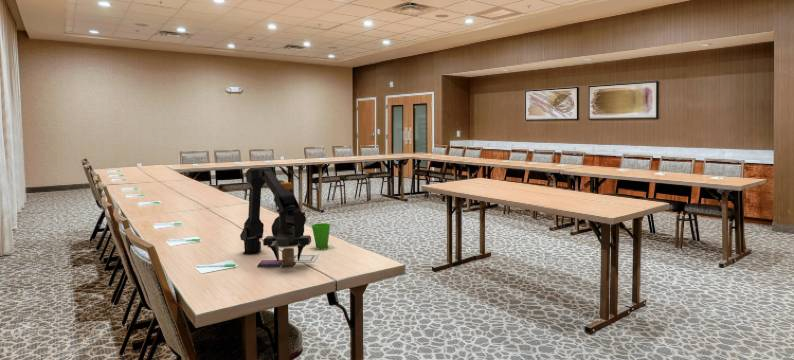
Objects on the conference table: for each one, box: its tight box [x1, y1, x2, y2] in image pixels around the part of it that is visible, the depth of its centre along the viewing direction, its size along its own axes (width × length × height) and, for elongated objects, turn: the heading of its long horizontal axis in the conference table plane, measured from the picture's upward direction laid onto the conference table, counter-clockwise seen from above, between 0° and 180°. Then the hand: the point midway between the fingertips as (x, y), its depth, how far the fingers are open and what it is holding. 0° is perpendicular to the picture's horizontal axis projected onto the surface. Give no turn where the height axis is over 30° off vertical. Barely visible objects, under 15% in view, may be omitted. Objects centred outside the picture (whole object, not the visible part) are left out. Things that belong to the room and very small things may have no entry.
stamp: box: [280, 247, 297, 269], centre depth 201 cm, size 5×5×7 cm
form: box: [294, 254, 320, 264], centre depth 211 cm, size 12×11×1 cm
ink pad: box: [257, 259, 282, 268], centre depth 203 cm, size 9×7×1 cm
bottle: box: [271, 181, 305, 247], centre depth 237 cm, size 16×16×30 cm
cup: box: [310, 222, 331, 250], centre depth 228 cm, size 9×9×11 cm
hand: (288, 260), depth 201 cm, fingers open, 8 cm apart
